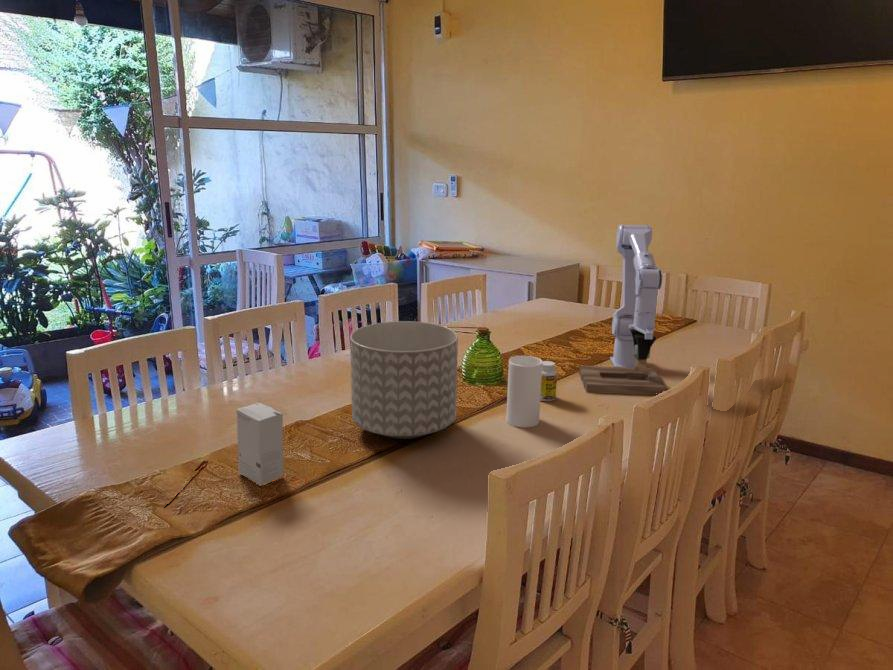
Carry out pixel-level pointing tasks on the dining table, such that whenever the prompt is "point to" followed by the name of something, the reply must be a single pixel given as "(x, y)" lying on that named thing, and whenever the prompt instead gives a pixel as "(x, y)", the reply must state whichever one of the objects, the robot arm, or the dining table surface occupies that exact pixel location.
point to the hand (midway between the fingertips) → (640, 356)
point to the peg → (640, 360)
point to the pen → (200, 465)
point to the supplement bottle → (548, 381)
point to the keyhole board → (620, 380)
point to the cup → (524, 391)
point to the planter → (404, 378)
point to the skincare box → (260, 443)
